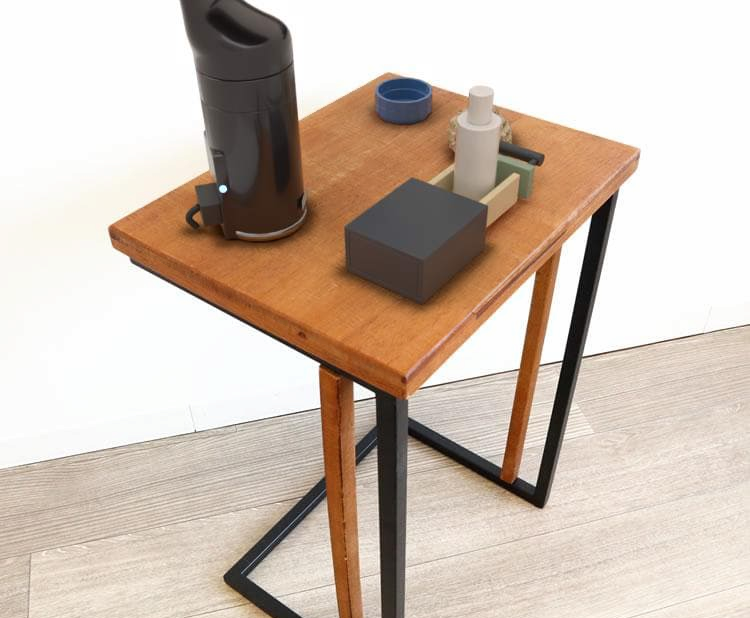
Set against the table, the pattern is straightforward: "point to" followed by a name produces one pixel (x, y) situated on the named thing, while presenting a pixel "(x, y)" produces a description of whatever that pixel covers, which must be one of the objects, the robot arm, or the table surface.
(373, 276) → the cabinet
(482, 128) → the bottle
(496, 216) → the drawer
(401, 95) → the bowl
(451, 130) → the seashell
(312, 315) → the table surface
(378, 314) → the table surface
